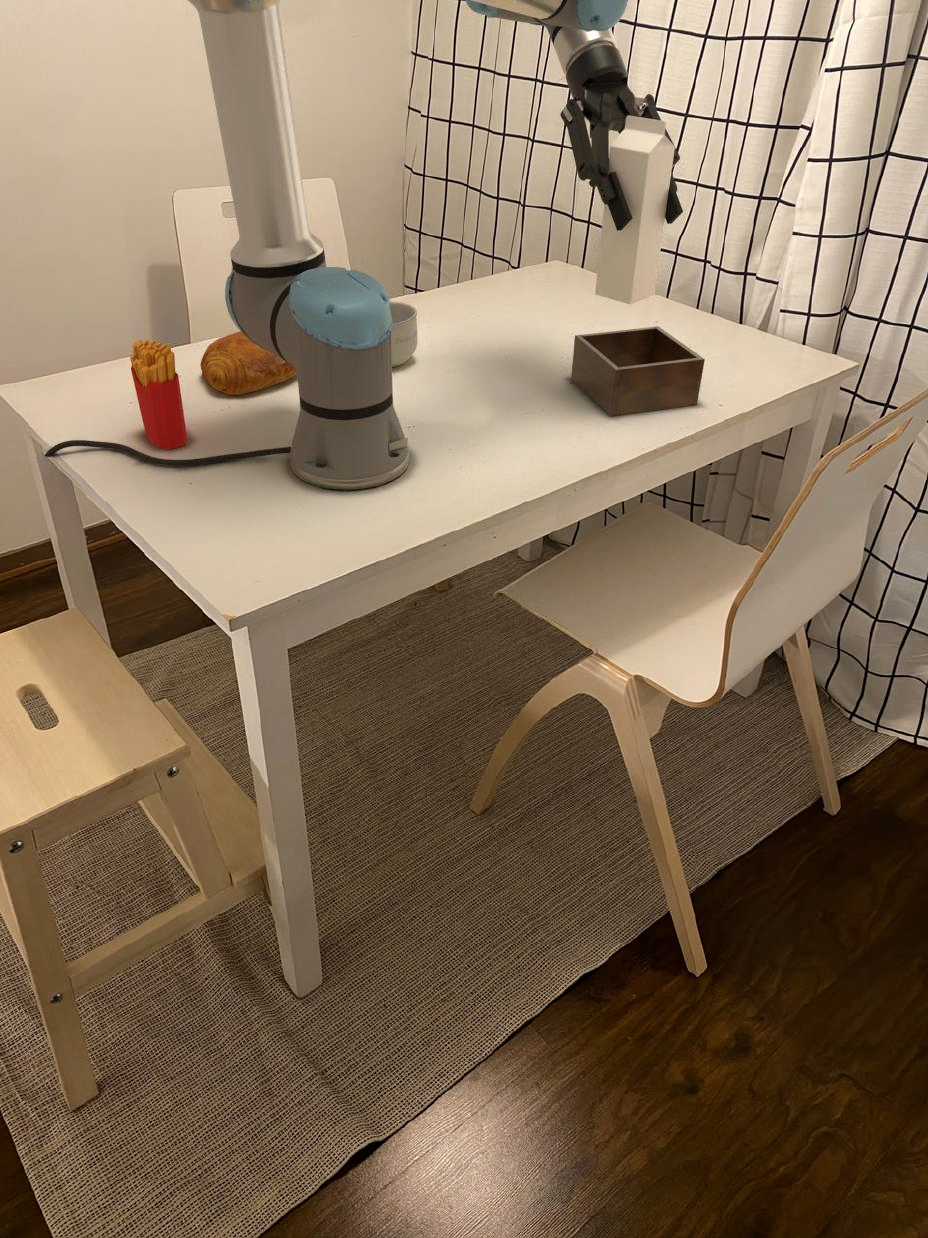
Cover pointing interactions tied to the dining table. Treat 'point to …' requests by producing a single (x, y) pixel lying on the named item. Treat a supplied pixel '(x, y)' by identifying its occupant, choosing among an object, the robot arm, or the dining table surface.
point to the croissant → (242, 366)
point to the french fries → (158, 393)
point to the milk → (636, 211)
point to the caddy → (636, 370)
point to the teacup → (403, 331)
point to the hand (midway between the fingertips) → (650, 220)
